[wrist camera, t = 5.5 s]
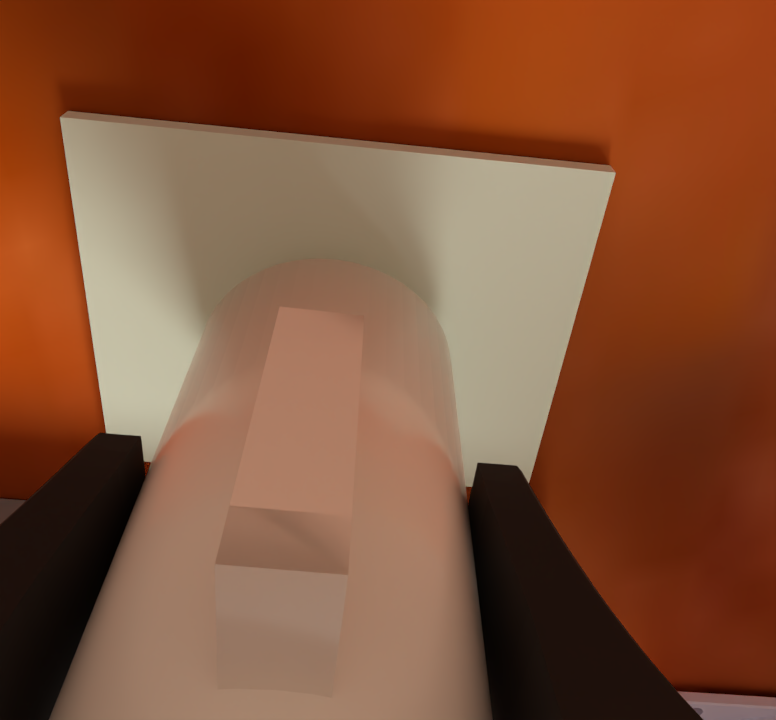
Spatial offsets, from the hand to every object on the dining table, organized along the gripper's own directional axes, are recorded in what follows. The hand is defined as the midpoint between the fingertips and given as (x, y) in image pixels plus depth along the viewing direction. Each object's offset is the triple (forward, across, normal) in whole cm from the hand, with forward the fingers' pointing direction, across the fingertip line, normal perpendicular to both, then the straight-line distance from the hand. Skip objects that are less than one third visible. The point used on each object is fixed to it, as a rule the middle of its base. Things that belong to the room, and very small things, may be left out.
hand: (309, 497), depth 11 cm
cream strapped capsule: (+4, 0, 0) cm, 4 cm away
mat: (+5, 0, 0) cm, 5 cm away
